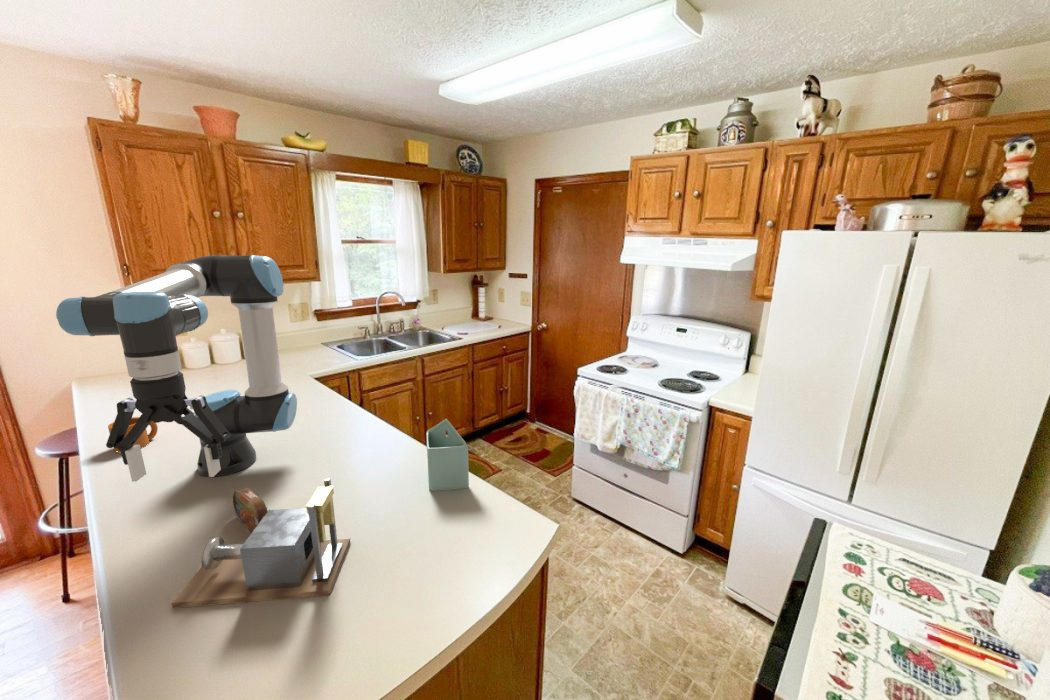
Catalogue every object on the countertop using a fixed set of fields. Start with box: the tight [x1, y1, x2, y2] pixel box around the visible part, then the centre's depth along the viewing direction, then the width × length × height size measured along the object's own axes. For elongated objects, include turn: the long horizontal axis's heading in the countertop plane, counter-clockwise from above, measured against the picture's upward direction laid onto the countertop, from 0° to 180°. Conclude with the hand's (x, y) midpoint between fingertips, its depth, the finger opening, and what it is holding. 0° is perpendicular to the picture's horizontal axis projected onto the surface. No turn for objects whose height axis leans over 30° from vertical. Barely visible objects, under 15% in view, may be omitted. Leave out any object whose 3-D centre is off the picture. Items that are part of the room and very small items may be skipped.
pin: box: [200, 536, 245, 570], centre depth 87 cm, size 16×6×6 cm, turn 97°
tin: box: [232, 487, 269, 533], centre depth 103 cm, size 15×3×8 cm, turn 54°
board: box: [170, 538, 351, 609], centre depth 89 cm, size 29×15×1 cm, turn 97°
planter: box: [425, 418, 470, 492], centre depth 120 cm, size 16×8×20 cm, turn 57°
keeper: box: [305, 485, 335, 543], centre depth 87 cm, size 3×7×9 cm, turn 7°
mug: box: [107, 416, 159, 452], centre depth 140 cm, size 9×12×9 cm
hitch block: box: [240, 477, 342, 591], centre depth 87 cm, size 15×12×18 cm
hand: (177, 475), depth 83 cm, fingers open, 13 cm apart
